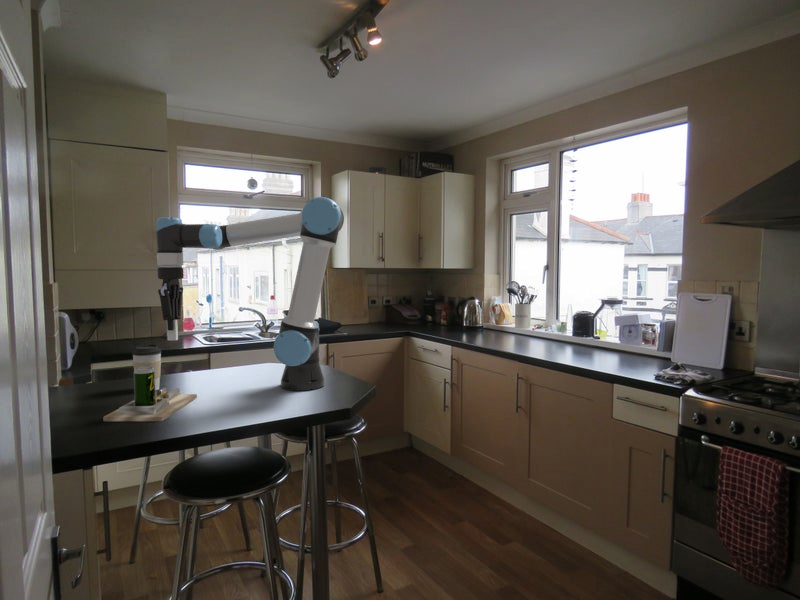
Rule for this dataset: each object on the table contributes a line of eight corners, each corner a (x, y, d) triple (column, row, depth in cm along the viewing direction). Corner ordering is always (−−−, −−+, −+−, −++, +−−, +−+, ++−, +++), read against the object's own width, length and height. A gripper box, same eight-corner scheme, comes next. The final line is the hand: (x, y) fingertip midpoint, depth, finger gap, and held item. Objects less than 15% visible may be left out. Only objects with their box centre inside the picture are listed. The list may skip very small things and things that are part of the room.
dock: (196, 397, 162) (196, 388, 162) (162, 421, 138) (161, 409, 138) (146, 397, 162) (146, 388, 162) (103, 421, 138) (102, 409, 138)
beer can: (132, 412, 142) (131, 370, 141) (137, 407, 147) (136, 366, 146) (153, 411, 143) (152, 369, 142) (157, 406, 148) (156, 365, 148)
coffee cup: (150, 393, 168) (149, 348, 167) (127, 391, 170) (125, 347, 168) (168, 386, 177) (167, 344, 176) (145, 385, 178) (144, 343, 177)
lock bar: (168, 398, 157) (167, 387, 157) (155, 405, 149) (155, 394, 149) (160, 398, 157) (159, 387, 157) (147, 405, 149) (147, 394, 149)
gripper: (167, 266, 168) (170, 337, 169) (148, 266, 155) (151, 343, 156) (190, 266, 168) (192, 337, 169) (173, 266, 155) (175, 343, 156)
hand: (172, 340), depth 163 cm, fingers closed
